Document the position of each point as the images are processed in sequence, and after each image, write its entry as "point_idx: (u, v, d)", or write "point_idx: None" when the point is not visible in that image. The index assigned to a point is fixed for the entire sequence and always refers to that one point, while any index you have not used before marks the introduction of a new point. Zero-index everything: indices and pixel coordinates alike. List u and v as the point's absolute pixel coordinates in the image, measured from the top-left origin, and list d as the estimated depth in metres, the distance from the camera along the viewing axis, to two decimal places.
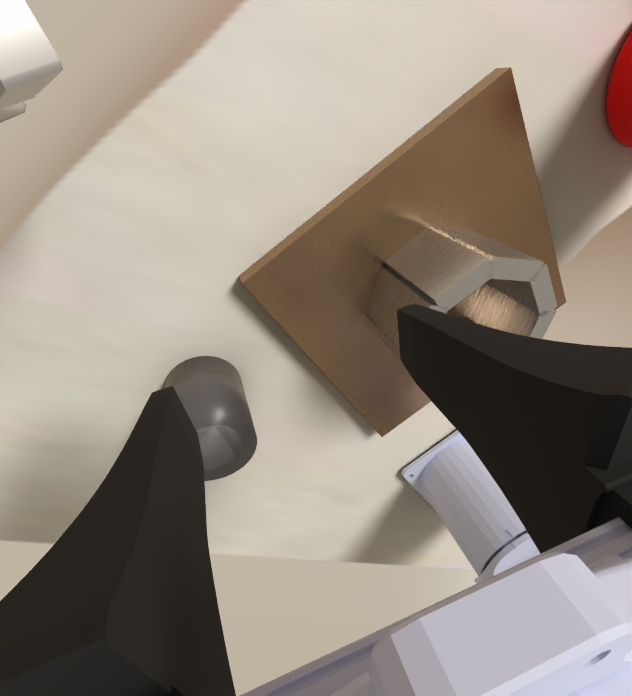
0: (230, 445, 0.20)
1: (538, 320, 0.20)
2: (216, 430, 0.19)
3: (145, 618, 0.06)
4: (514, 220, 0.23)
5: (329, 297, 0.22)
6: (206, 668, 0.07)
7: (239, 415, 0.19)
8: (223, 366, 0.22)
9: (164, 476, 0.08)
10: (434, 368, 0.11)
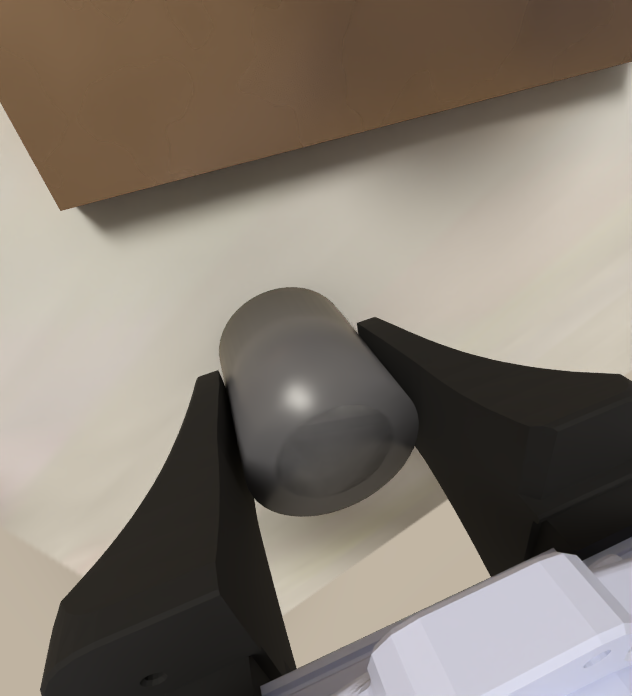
0: (352, 425, 0.09)
1: None
2: (300, 439, 0.09)
3: (236, 579, 0.06)
4: None
5: None
6: (276, 636, 0.07)
7: (298, 388, 0.08)
8: (251, 313, 0.12)
9: (224, 453, 0.09)
10: None
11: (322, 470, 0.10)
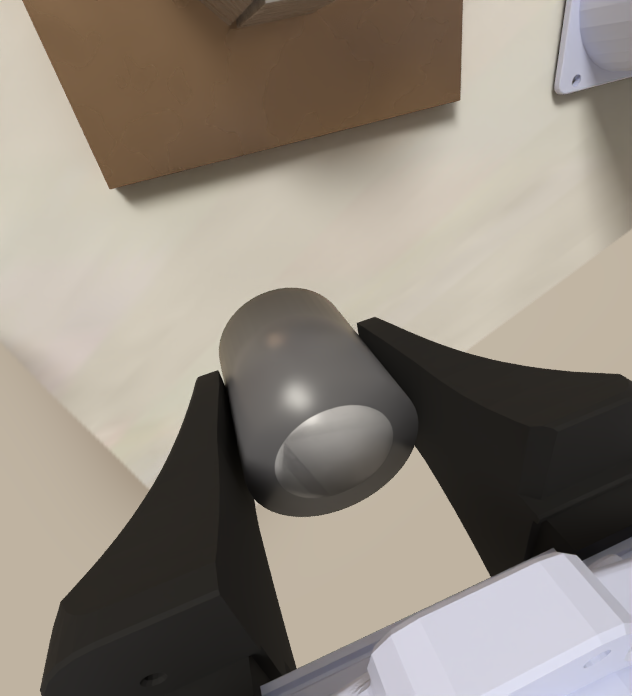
0: (352, 426, 0.09)
1: None
2: (299, 440, 0.09)
3: (236, 579, 0.06)
4: None
5: (173, 78, 0.15)
6: (276, 636, 0.07)
7: (298, 389, 0.08)
8: (251, 313, 0.12)
9: (224, 453, 0.09)
10: None
11: (322, 470, 0.10)
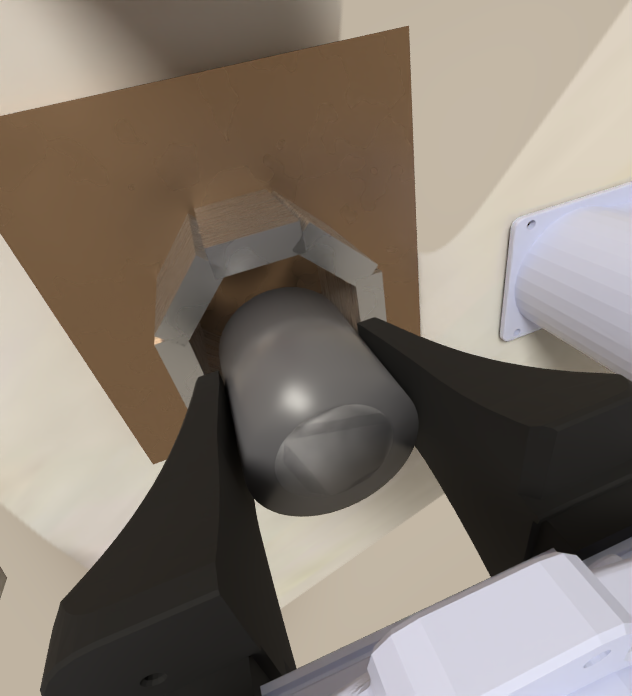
0: (352, 426, 0.09)
1: (309, 255, 0.13)
2: (299, 439, 0.09)
3: (236, 579, 0.06)
4: (193, 140, 0.14)
5: None
6: (276, 636, 0.07)
7: (298, 388, 0.08)
8: (251, 312, 0.12)
9: (224, 453, 0.09)
10: None
11: (322, 470, 0.10)
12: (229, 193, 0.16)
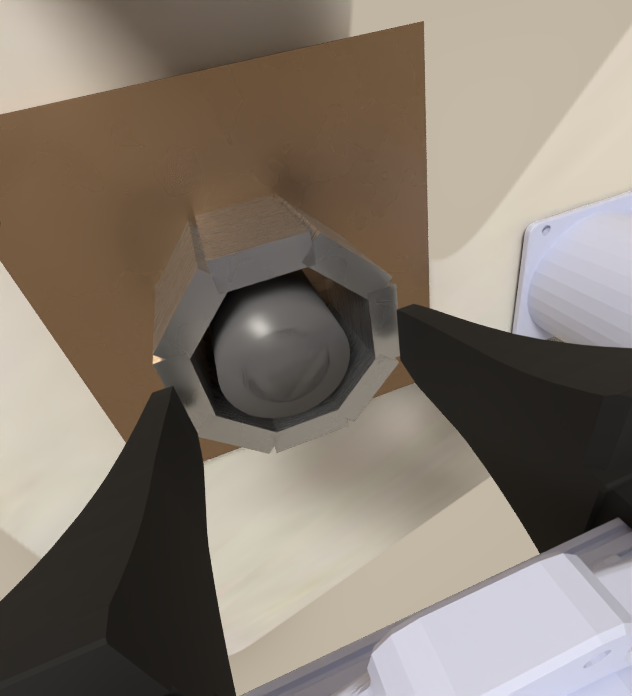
0: (297, 345, 0.13)
1: (319, 267, 0.12)
2: (258, 353, 0.12)
3: (146, 618, 0.06)
4: (194, 143, 0.13)
5: None
6: (206, 668, 0.07)
7: (255, 314, 0.12)
8: None
9: (164, 476, 0.09)
10: (434, 368, 0.11)
11: (276, 380, 0.13)
12: (232, 199, 0.15)
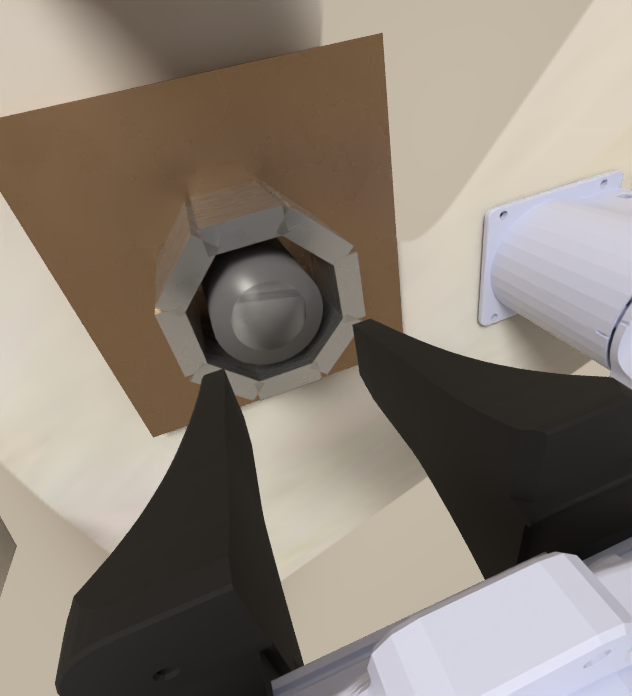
0: (277, 297, 0.15)
1: (291, 236, 0.14)
2: (244, 304, 0.15)
3: (247, 574, 0.06)
4: (189, 135, 0.16)
5: None
6: (285, 632, 0.07)
7: (240, 269, 0.14)
8: None
9: (232, 451, 0.09)
10: (386, 386, 0.11)
11: (262, 328, 0.16)
12: (222, 183, 0.17)
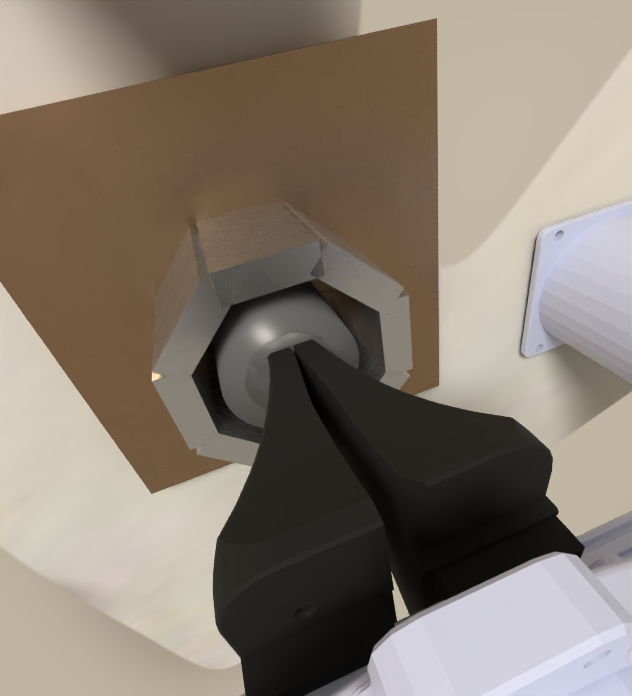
0: None
1: (328, 278, 0.11)
2: (261, 361, 0.12)
3: None
4: (195, 146, 0.13)
5: None
6: None
7: (255, 320, 0.11)
8: None
9: None
10: (322, 409, 0.11)
11: None
12: (235, 205, 0.14)
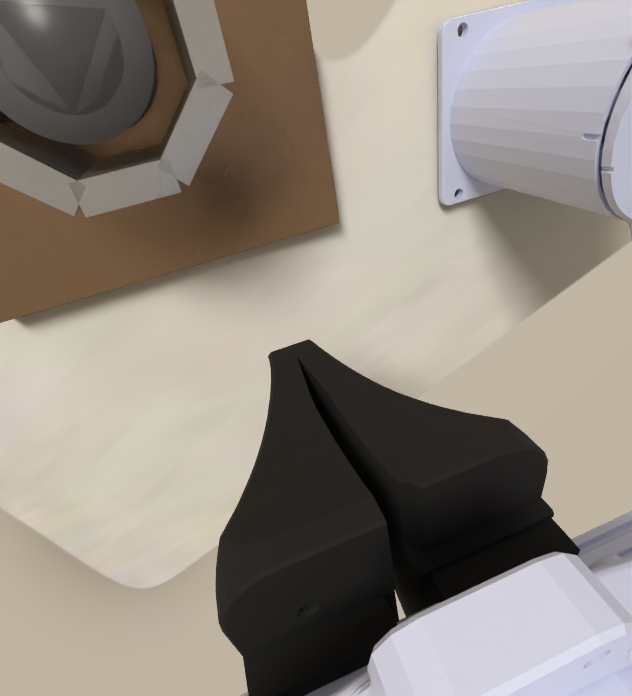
0: (60, 1, 0.09)
1: None
2: (1, 4, 0.09)
3: None
4: None
5: (48, 230, 0.16)
6: None
7: None
8: None
9: None
10: (319, 410, 0.11)
11: (48, 67, 0.10)
12: None
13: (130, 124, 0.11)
